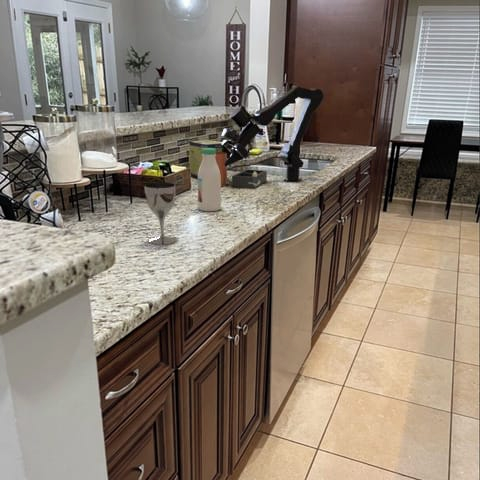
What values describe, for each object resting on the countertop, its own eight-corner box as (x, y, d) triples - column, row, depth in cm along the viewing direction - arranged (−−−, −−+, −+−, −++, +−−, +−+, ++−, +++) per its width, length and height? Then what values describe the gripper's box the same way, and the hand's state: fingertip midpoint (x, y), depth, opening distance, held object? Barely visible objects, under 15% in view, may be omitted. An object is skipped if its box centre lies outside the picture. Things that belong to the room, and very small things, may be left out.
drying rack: (231, 186, 208) (231, 175, 207) (246, 179, 224) (246, 169, 222) (253, 188, 205) (253, 177, 204) (266, 181, 221) (266, 170, 219)
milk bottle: (224, 207, 174) (224, 147, 166) (215, 212, 167) (215, 150, 159) (203, 205, 176) (202, 146, 168) (194, 210, 169) (193, 149, 161)
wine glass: (149, 236, 140) (145, 182, 134) (177, 236, 141) (175, 182, 135) (146, 245, 133) (143, 188, 127) (176, 244, 134) (174, 188, 128)
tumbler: (214, 183, 216) (214, 151, 211) (228, 184, 214) (228, 152, 209) (209, 185, 210) (208, 153, 205) (223, 186, 208) (223, 154, 203)
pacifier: (241, 187, 207) (255, 188, 205) (241, 172, 204) (255, 172, 202) (248, 184, 213) (261, 185, 211) (248, 169, 211) (261, 170, 208)
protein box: (208, 181, 219) (208, 144, 213) (189, 176, 230) (188, 141, 224) (227, 179, 225) (228, 142, 219) (208, 174, 236) (207, 139, 230)
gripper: (226, 119, 212) (201, 147, 213) (242, 123, 196) (215, 153, 197) (243, 138, 218) (218, 165, 219) (259, 143, 202) (233, 172, 203)
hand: (221, 163), depth 209 cm, fingers open, 9 cm apart
